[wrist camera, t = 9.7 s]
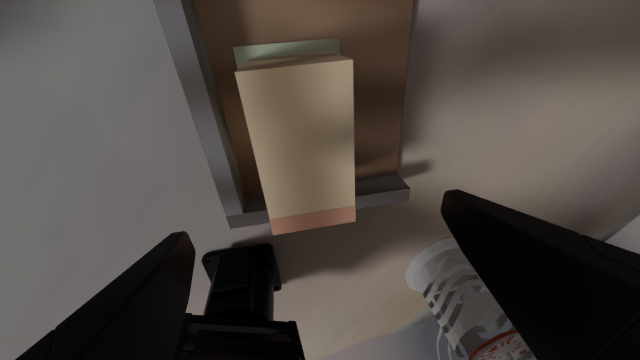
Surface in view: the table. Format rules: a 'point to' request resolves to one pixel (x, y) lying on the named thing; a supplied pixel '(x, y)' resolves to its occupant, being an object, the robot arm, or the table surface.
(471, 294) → the french press
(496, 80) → the table surface
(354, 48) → the tray
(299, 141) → the maple block
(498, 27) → the table surface
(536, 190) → the table surface
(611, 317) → the robot arm
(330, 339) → the table surface
